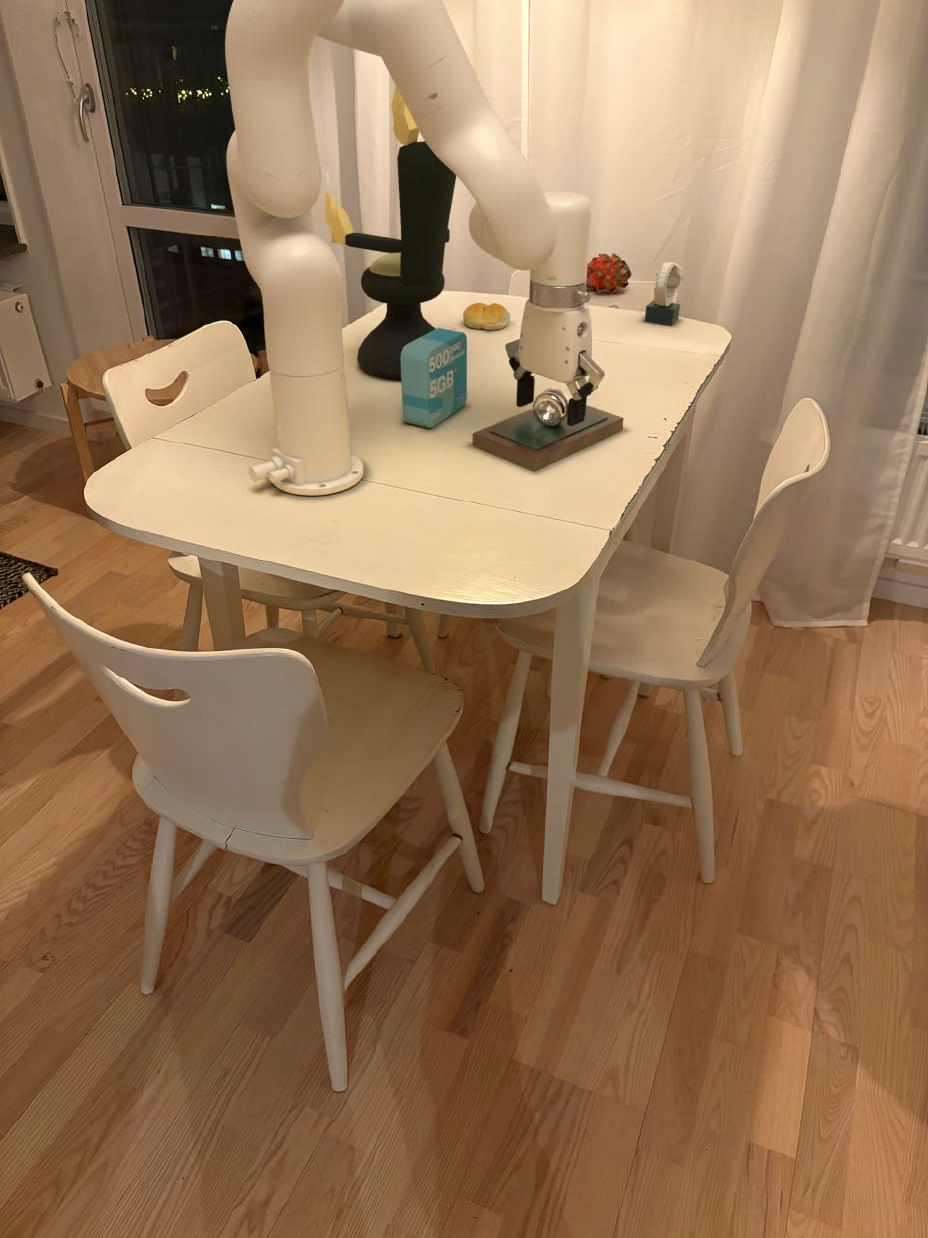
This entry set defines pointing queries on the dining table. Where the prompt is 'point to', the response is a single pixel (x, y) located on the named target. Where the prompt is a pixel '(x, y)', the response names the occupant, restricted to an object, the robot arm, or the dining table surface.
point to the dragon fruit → (607, 273)
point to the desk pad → (544, 437)
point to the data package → (434, 377)
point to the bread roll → (486, 316)
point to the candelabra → (403, 248)
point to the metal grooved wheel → (544, 410)
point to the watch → (665, 295)
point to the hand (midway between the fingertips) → (549, 413)
